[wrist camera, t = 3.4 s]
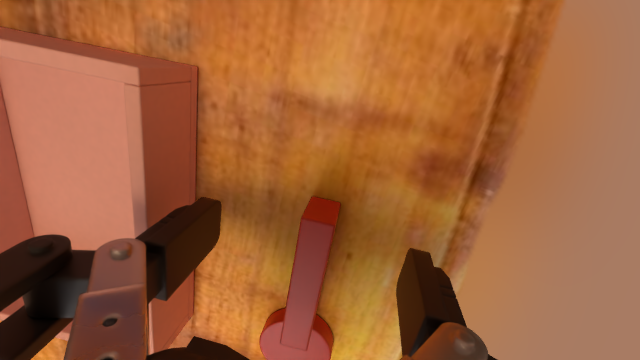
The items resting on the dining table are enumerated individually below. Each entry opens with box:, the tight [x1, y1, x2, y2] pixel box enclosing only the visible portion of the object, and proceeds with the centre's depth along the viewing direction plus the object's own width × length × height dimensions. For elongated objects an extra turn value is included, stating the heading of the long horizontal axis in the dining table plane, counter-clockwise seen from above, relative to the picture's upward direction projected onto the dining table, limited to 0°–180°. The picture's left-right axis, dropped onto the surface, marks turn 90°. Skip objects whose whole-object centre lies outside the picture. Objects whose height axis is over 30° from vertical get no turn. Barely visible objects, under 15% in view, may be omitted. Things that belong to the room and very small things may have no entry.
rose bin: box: [0, 27, 198, 354], centre depth 14 cm, size 14×10×4 cm
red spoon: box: [260, 196, 341, 360], centre depth 15 cm, size 11×4×2 cm, turn 170°
